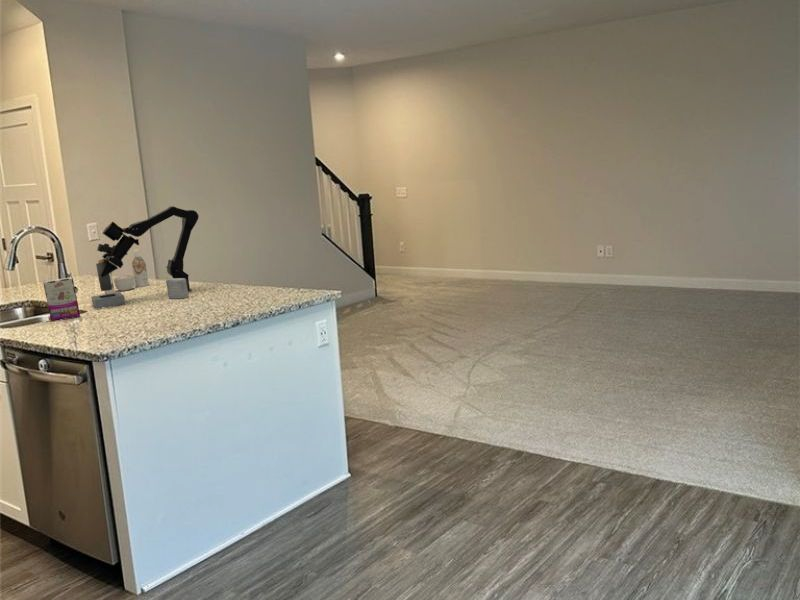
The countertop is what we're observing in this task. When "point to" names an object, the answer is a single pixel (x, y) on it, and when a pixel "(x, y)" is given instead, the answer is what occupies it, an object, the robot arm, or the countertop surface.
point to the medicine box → (177, 288)
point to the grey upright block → (104, 281)
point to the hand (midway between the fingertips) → (100, 275)
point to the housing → (108, 300)
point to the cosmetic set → (128, 281)
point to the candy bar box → (61, 298)
